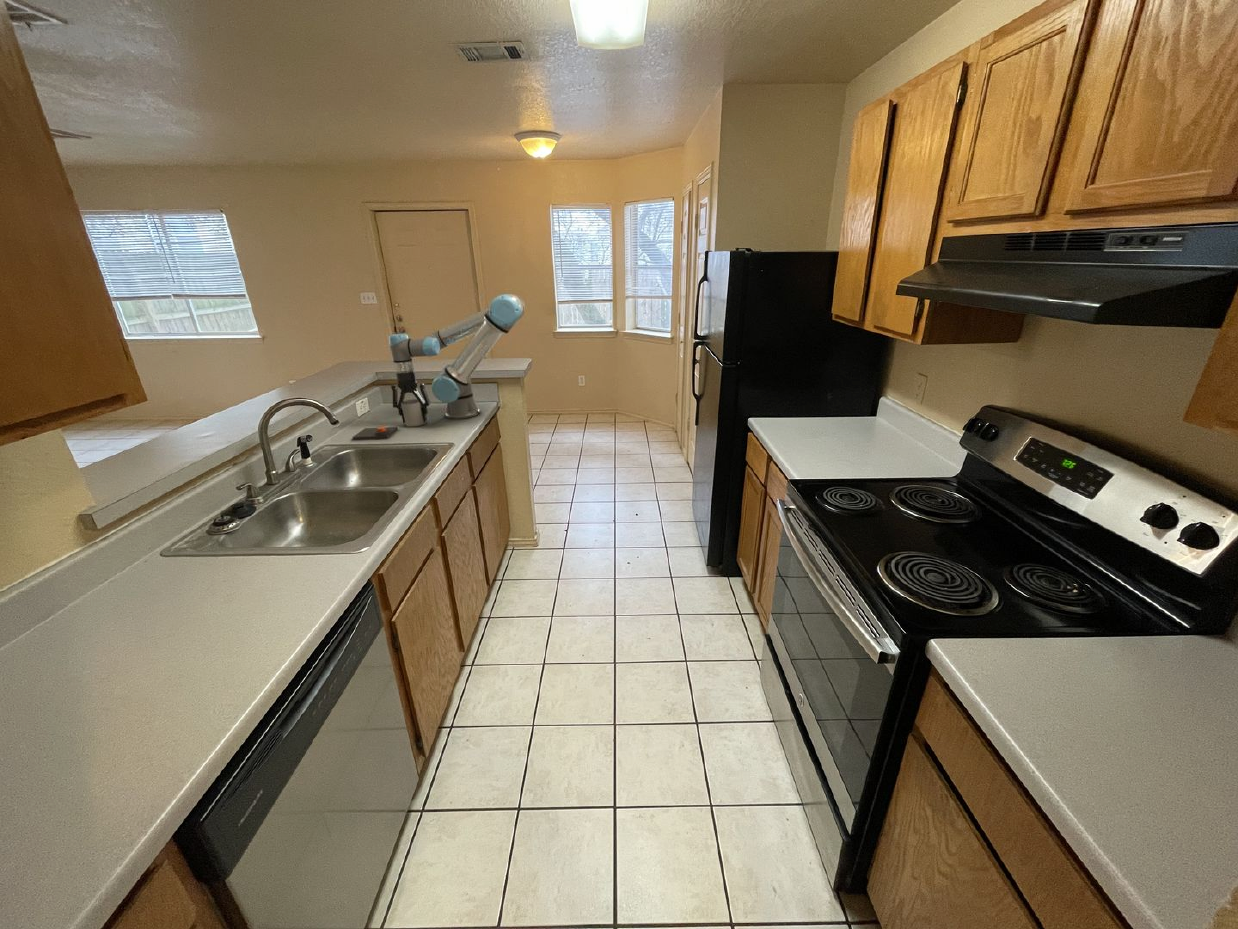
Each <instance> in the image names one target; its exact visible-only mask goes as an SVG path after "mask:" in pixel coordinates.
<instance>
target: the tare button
mask: <svg viewBox="0 0 1238 929" xmlns="http://www.w3.org/2000/svg"><path fill="white" fill-rule="evenodd" d="M386 427H387V426H379V427H377V428H378V432H384V431H386Z"/></svg>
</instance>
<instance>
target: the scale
mask: <svg viewBox="0 0 1238 929" xmlns="http://www.w3.org/2000/svg"><path fill="white" fill-rule="evenodd" d="M385 427H386V431H384V432H378V428H379V427H364V428H363V429H362V430H360V431H359V432H357V433H356V434H354V436H352V441H364V440H365V441H369V440H373V441H374V440H388V439H389V438H390V437H391V436H392V435H394V434H395V433H396V432H397V431H398V430H399V427H398V426H385Z"/></svg>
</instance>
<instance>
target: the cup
mask: <svg viewBox="0 0 1238 929" xmlns="http://www.w3.org/2000/svg"><path fill="white" fill-rule="evenodd" d="M401 405H402V410H403V414H404V419H405V423H404V424H405V426H406V427H419V426H423V425H425V424H426V422H424V421H423V416H422V411H421V408H422V405H421V404H420V402H419V401H418V400H417V398H414V399H406V400H404V401H403V403H401Z"/></svg>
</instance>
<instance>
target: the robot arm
mask: <svg viewBox="0 0 1238 929" xmlns="http://www.w3.org/2000/svg"><path fill="white" fill-rule="evenodd" d="M524 313H525V303H524V301H523V299H522V298H521V297H520V296H519V295H517V294H515V293H504V294H501V295H498V296H495V298H493V299H492V300H491V302H490V305H489V306H488V307H487V308H484V309H481V310H480V311H478V312H475V313H473V314H472V315H469V316H466V317H464V318H462V319H461V320H458V321H455V322H454V323H452V324H449V325H447V326H445V327H443V328H440V329H439V330H437V331H434V332H432V333H429V334H428V335H426V336H423V337H418V338H409V336H408V334H407V333H394V334H390V335H389V336H388V343H389V348H390V353H391V357H392V362H393V366H394V371H395V372H396V373H395V376H396V380H397V384H392V385H391V386H390V388H391V390H392V407H393V409H395V408H396V409H397V411H398V415H399V416H400V417H401V419H402V423H403V424H405V419H404V414H403V410H402V405H401V403H403V401H405V398H406V394H408V393H409V394H412V395H414V397H415V399H417V400H418V401H419V402H420V404H421V405H422V408H421V411H422V416H423V421H424V422H425V423H426V422H427V421H428V417H427V416H428V414H429V410H428V407H429V406H430V405H431V400H430V398H429V395H428V392H427V391H426V386H425V385H426V384H425V383H424V382H421V383H419V382H418V381H417V377H416V371H415V367H414V362H413V358H416V357H417V358H419V357H430V358H431V357H437V356H439V355H440V350H442V349H444V348H446V347H447V348H448V347H449V346H451V345H453V344H455V343H457V342H460V341H462V340H464V339H467V338H469V337H471V336H472V337H471V339H470V340H469V341H468V343H467V344H466V345H465V347H464V348H463V350H461V352H460V353H459V355H458V356H457V357H456V359H455V360H454V361H453V363H452V364H447V365H445V366H442V370H441V372H440V374H439V375H438V376H437V377H436V378H435V379H434V380H433V381H432V383H431V392H432V395H433V396H434V397H435V398H436V399H437V400H438V401H439V402H442V403H446V407H445V417H446V418H448V419H451V420H452V419H454V420H461V419H468V418H473V417H476V416H478V415H481V414H482V413H481V412H480V408H479V405H478V403H477V402H476V399H475V398H474V392H473V391H474V390H473V385H472V378H471V376H472V375H473V373H474V372H475V370H476V369H477V368H478V366H479V365H480V364H481V363H482V361H483V360H484V359H485V358H486V356H487V355H488V353H489V352H490V351H491V349H492V348H493V347H494V346H495V344H496V343H497V342H498V340H499V339H500V338H501V336H502V335H507V334H508V333H509V332H510V331H511V330H512V328H513V327H514V326H515V324H516V323H517V322H518V321H519V320H521V318H522V317H523V316H524ZM418 388H419V389H420V392H419V390H418ZM398 389H399V390H400V395H399V399H398V394H399V392H398Z"/></svg>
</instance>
